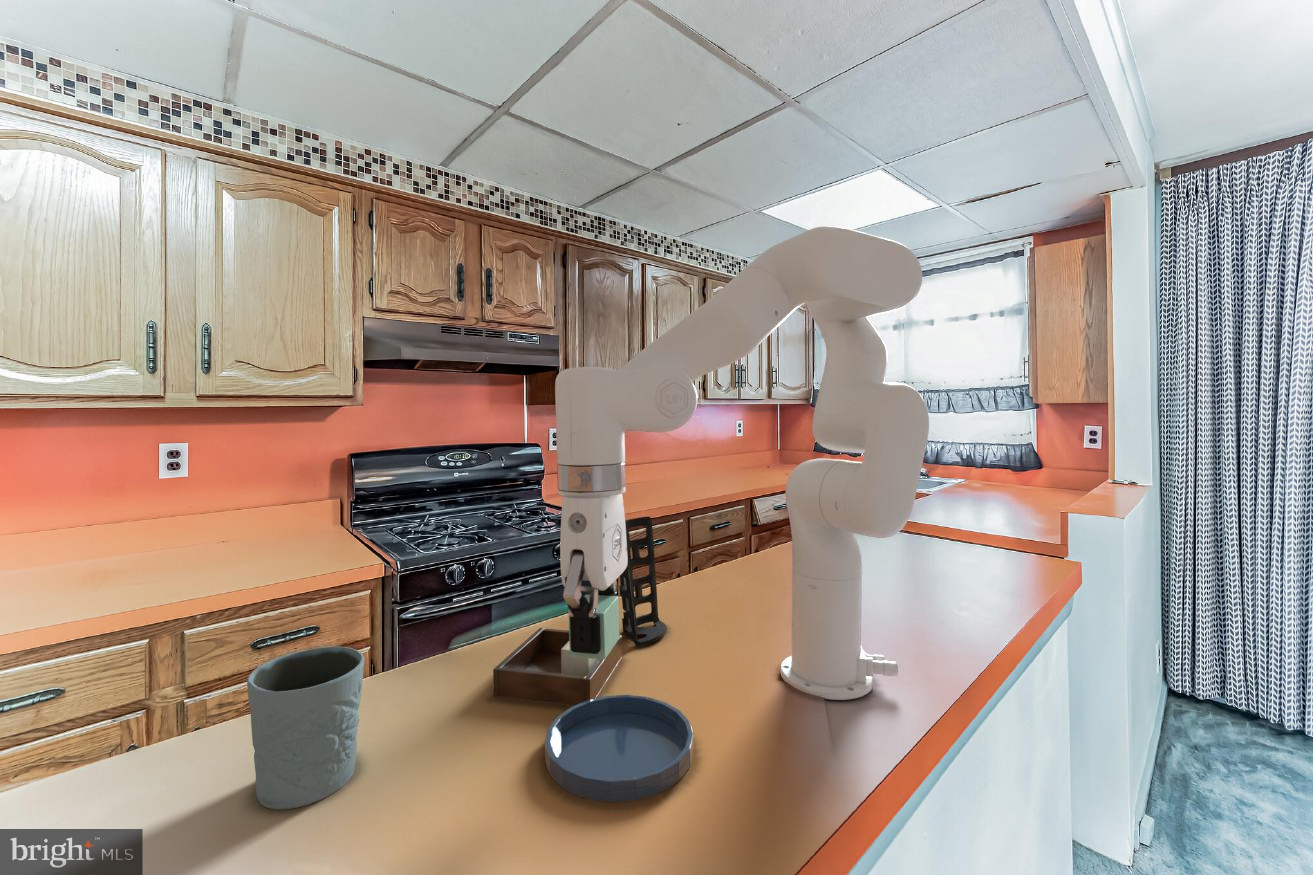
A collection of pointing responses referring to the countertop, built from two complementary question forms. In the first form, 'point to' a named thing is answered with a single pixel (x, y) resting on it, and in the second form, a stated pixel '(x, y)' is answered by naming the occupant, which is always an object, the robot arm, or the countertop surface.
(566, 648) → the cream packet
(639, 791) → the blue round tray
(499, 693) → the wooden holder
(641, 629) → the holder
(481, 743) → the countertop surface
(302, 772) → the grey embossed cup
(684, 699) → the countertop surface
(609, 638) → the green block
